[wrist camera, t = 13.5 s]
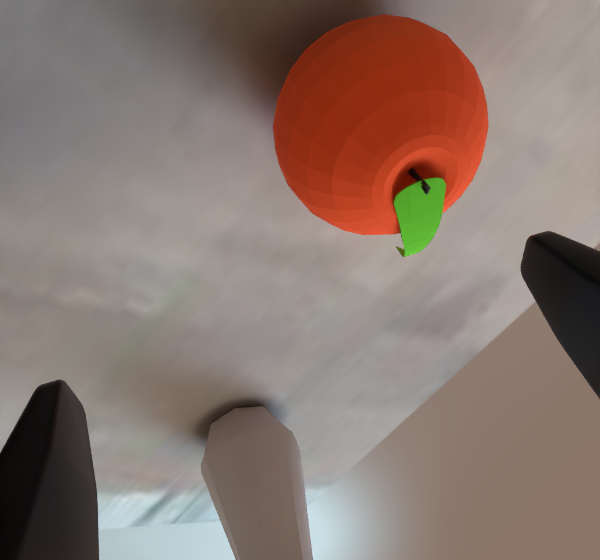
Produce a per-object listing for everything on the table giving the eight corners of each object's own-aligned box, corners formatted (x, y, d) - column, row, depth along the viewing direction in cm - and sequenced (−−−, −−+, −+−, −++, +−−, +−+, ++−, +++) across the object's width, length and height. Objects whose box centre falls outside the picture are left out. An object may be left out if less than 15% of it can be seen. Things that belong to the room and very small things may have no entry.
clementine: (429, 158, 24) (521, 262, 19) (280, 209, 24) (334, 329, 19) (425, -41, 18) (555, 32, 13) (229, 21, 18) (287, 121, 13)
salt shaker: (266, 383, 32) (342, 633, 22) (301, 424, 36) (377, 649, 27) (177, 427, 32) (216, 690, 23) (221, 462, 36) (270, 698, 27)
